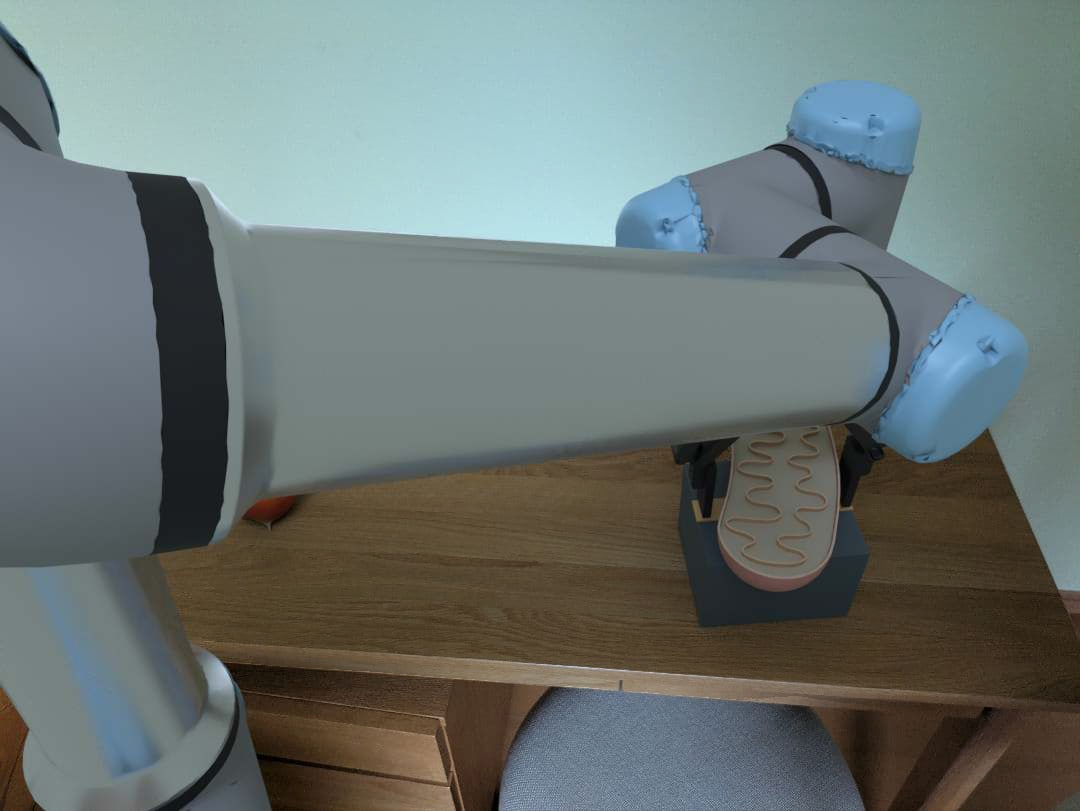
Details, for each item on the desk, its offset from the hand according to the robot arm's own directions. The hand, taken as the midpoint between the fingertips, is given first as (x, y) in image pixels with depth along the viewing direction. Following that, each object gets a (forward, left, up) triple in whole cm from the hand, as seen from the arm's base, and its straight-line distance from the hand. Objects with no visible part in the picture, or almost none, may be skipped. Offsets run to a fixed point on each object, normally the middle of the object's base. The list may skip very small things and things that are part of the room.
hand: (772, 501), depth 71 cm
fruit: (-52, +13, -11) cm, 55 cm away
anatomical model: (0, 0, -1) cm, 1 cm away
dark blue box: (0, 0, -11) cm, 11 cm away
